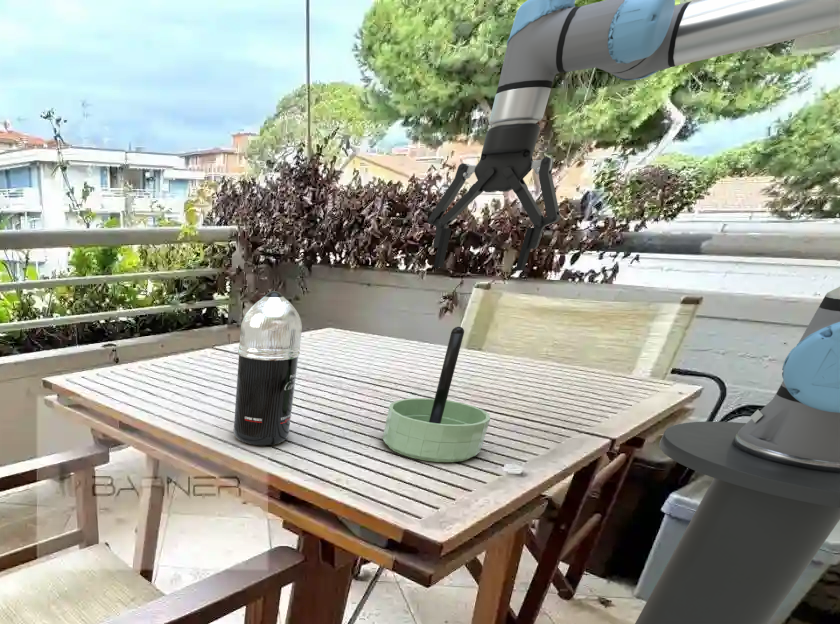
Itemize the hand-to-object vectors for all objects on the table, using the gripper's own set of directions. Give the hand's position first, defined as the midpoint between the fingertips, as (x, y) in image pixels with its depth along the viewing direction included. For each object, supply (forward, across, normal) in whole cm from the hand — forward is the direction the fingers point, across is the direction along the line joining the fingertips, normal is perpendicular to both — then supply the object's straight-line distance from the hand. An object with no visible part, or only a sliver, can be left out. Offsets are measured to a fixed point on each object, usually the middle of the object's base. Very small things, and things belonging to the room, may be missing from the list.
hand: (477, 269), depth 99 cm
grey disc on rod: (+26, -6, +22) cm, 34 cm away
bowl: (+27, -6, +22) cm, 35 cm away
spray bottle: (+27, +18, +38) cm, 50 cm away
